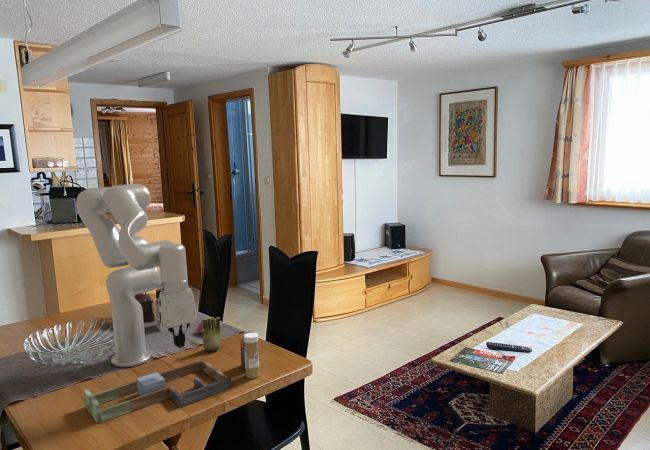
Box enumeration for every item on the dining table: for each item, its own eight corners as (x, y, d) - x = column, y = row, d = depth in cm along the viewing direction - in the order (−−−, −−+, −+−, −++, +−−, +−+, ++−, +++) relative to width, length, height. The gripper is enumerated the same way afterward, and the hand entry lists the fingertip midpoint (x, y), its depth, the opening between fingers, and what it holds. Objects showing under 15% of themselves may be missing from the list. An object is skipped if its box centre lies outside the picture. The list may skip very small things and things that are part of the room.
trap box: (85, 407, 135) (84, 390, 134) (203, 367, 158) (202, 353, 157) (106, 435, 122) (104, 416, 121) (231, 388, 145) (230, 372, 144)
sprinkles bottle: (256, 379, 149) (254, 338, 147) (242, 378, 151) (240, 336, 149) (262, 373, 154) (260, 332, 152) (249, 371, 155) (247, 331, 153)
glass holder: (183, 322, 199) (181, 287, 197) (165, 336, 185) (162, 298, 183) (164, 321, 201) (161, 286, 198) (144, 334, 187) (141, 296, 185)
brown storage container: (156, 321, 202) (153, 278, 199) (128, 326, 196) (124, 283, 193) (149, 310, 215) (146, 270, 212) (122, 315, 209) (119, 274, 206)
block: (137, 394, 142) (136, 378, 141) (158, 387, 146) (156, 372, 145) (145, 402, 138) (144, 385, 137) (166, 395, 141) (164, 379, 141)
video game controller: (220, 339, 185) (225, 321, 187) (212, 338, 181) (217, 319, 183) (201, 334, 190) (206, 316, 192) (193, 333, 187) (198, 315, 188)
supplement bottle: (256, 371, 155) (254, 337, 153) (238, 369, 156) (236, 336, 155) (262, 363, 161) (260, 330, 159) (245, 361, 162) (243, 329, 160)
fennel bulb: (222, 347, 174) (221, 315, 172) (218, 353, 169) (216, 320, 167) (206, 347, 174) (205, 315, 172) (202, 353, 170) (200, 320, 168)
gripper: (154, 294, 135) (160, 357, 137) (204, 283, 144) (208, 342, 147) (144, 289, 140) (150, 349, 143) (192, 279, 150) (197, 336, 153)
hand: (179, 345), depth 145 cm, fingers closed
